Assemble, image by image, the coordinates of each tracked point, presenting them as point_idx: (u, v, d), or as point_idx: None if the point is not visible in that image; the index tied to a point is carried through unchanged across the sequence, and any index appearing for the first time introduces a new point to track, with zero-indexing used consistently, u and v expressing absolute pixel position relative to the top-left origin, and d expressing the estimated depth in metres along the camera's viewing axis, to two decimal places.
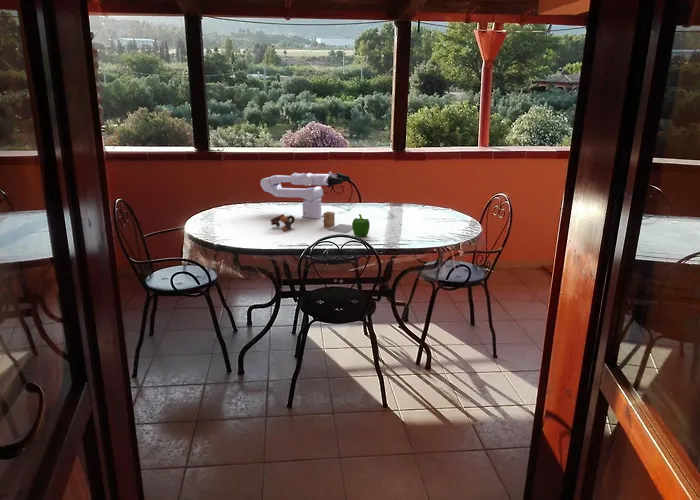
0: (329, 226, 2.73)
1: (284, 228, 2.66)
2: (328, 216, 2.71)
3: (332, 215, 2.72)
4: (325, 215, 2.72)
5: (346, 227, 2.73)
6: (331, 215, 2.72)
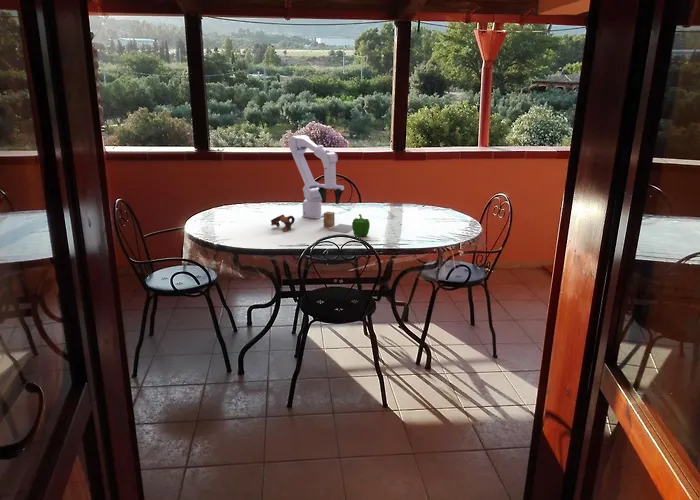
0: (329, 226, 2.73)
1: (284, 228, 2.66)
2: (328, 216, 2.71)
3: (332, 215, 2.72)
4: (325, 215, 2.72)
5: (346, 227, 2.73)
6: (331, 215, 2.72)
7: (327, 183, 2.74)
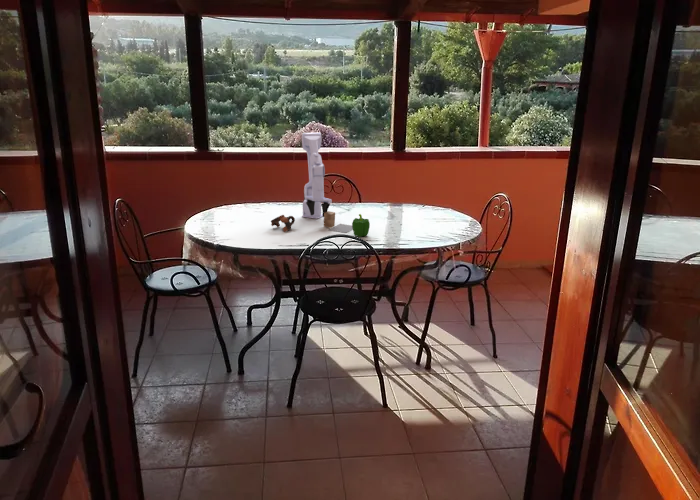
0: (329, 226, 2.73)
1: (284, 229, 2.66)
2: (329, 216, 2.71)
3: (333, 215, 2.72)
4: (326, 215, 2.72)
5: (346, 227, 2.73)
6: (332, 215, 2.71)
7: (315, 196, 2.71)
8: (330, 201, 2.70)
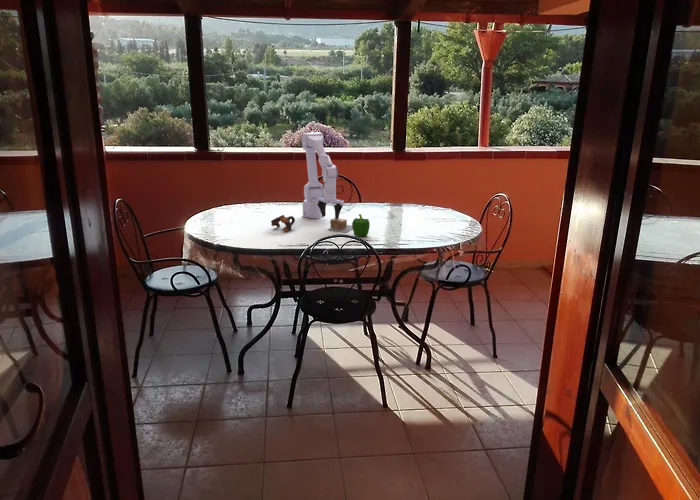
0: (331, 226, 2.72)
1: (285, 229, 2.65)
2: (340, 226, 2.70)
3: None
4: (340, 223, 2.69)
5: (346, 227, 2.73)
6: None
7: (327, 198, 2.68)
8: (342, 203, 2.67)
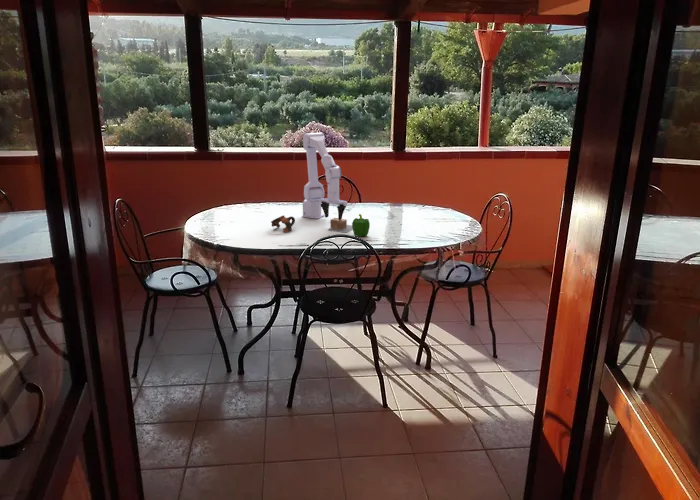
0: (331, 226, 2.72)
1: (285, 229, 2.64)
2: (340, 226, 2.70)
3: None
4: (340, 223, 2.69)
5: (346, 227, 2.73)
6: None
7: (330, 198, 2.67)
8: (346, 203, 2.67)
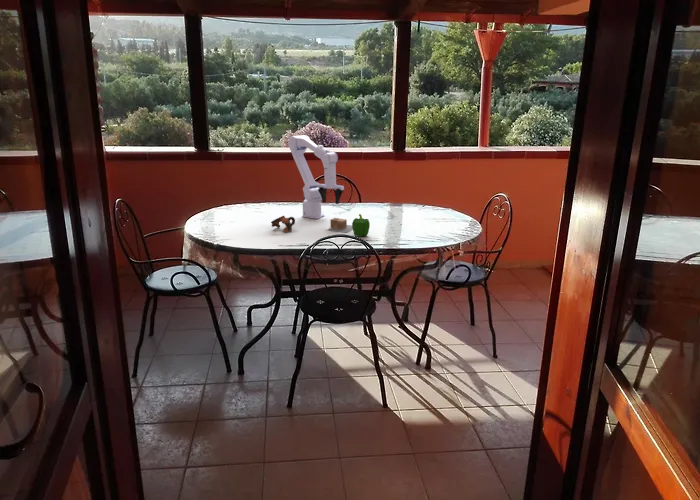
0: (331, 226, 2.72)
1: (285, 230, 2.64)
2: (340, 226, 2.70)
3: None
4: (340, 223, 2.69)
5: (346, 227, 2.73)
6: None
7: (327, 183, 2.74)
8: (342, 188, 2.74)
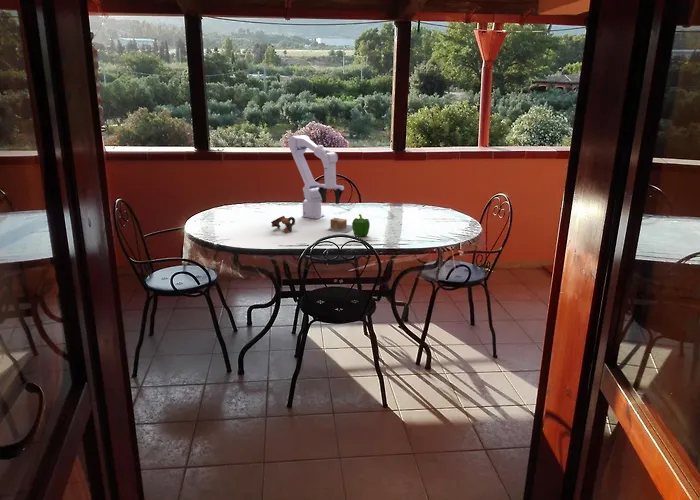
0: (331, 226, 2.72)
1: (285, 230, 2.64)
2: (340, 226, 2.70)
3: None
4: (340, 223, 2.69)
5: (346, 227, 2.73)
6: None
7: (327, 183, 2.74)
8: (342, 188, 2.74)
